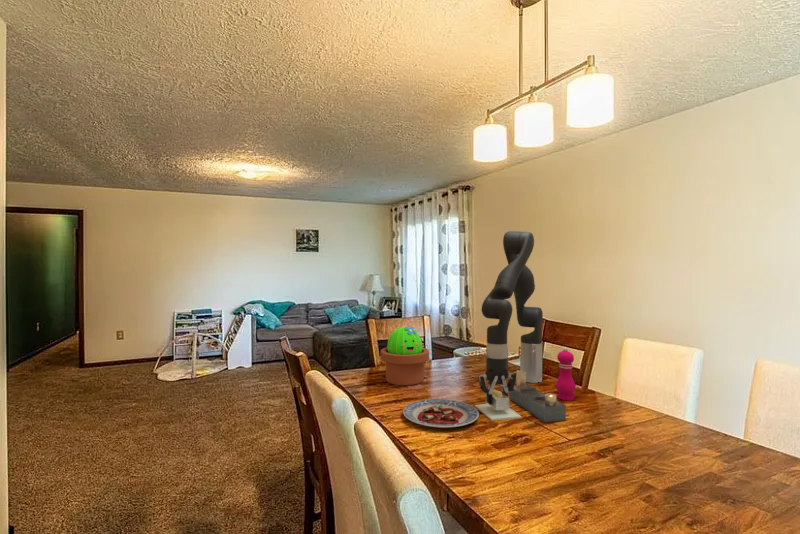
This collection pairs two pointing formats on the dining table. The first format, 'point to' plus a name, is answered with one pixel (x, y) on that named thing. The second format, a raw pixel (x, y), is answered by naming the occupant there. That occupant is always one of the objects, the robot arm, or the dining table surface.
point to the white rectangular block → (499, 400)
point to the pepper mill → (565, 376)
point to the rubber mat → (497, 413)
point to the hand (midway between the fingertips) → (497, 403)
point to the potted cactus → (404, 357)
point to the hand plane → (536, 400)
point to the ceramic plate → (440, 413)
